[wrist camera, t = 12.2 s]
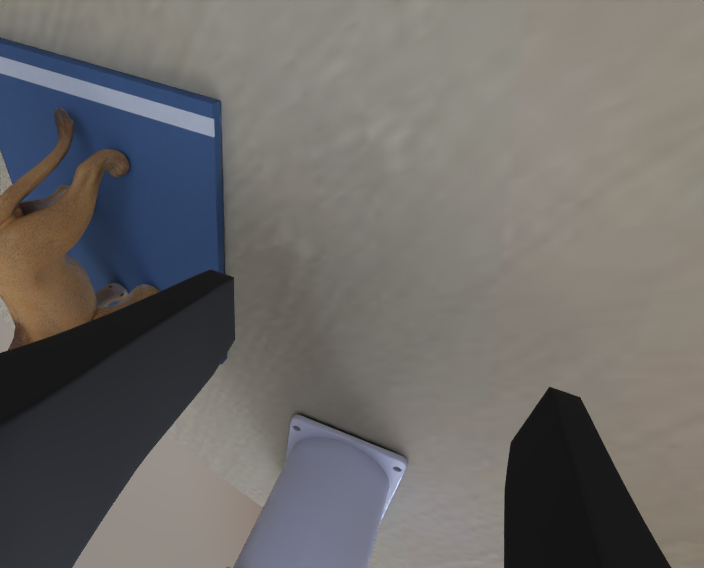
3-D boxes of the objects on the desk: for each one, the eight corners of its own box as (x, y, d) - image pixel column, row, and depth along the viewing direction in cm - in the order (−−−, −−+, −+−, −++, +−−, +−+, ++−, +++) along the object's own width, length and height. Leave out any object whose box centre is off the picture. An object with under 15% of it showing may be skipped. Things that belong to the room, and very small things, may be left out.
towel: (227, 358, 27) (221, 364, 27) (59, 293, 29) (52, 298, 29) (220, 100, 18) (212, 103, 17) (-30, 29, 20) (-44, 30, 19)
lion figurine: (199, 351, 27) (86, 480, 20) (132, 337, 28) (5, 452, 21) (113, 105, 19) (-132, 177, 12) (25, 104, 20) (-237, 167, 13)
